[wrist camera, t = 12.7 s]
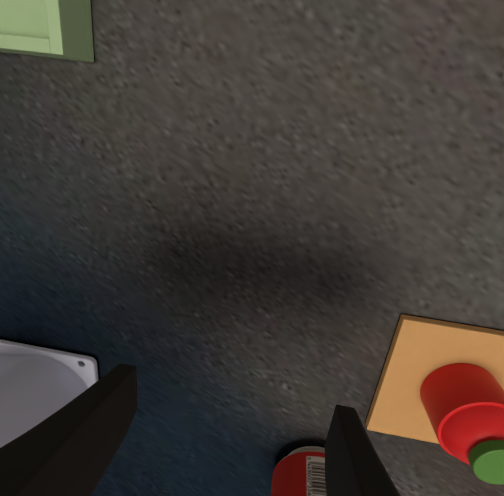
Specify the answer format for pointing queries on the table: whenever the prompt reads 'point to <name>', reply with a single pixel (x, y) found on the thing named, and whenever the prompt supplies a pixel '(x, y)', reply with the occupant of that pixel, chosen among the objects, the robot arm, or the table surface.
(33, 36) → the tray
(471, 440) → the red cylinder green cap
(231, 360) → the table surface
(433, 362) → the mat
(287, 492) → the beverage can
